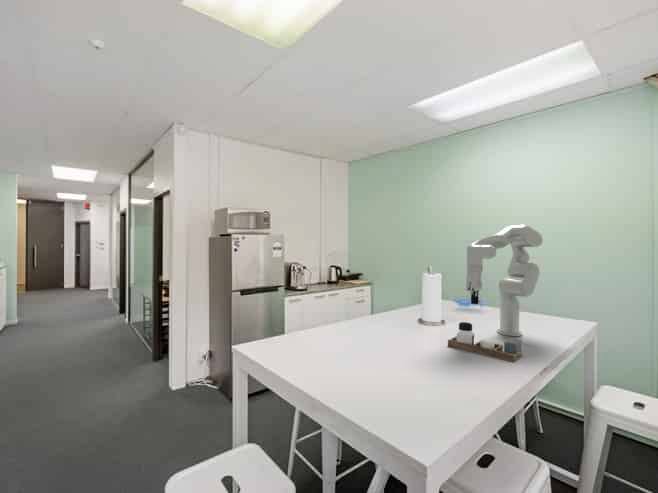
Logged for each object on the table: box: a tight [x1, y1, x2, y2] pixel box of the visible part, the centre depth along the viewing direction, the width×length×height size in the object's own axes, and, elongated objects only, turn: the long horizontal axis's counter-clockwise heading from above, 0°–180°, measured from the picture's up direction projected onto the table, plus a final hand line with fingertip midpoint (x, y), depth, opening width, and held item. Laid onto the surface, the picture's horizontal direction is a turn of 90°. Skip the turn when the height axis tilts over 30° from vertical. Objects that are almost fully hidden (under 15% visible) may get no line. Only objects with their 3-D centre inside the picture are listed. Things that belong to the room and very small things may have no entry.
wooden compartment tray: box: [447, 335, 522, 363], centre depth 151 cm, size 11×30×3 cm, turn 45°
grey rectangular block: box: [503, 337, 523, 355], centre depth 150 cm, size 9×5×5 cm, turn 135°
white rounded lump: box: [479, 339, 496, 350], centre depth 150 cm, size 6×6×5 cm
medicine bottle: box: [456, 321, 475, 345], centre depth 157 cm, size 7×7×12 cm
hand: (474, 303), depth 166 cm, fingers closed
